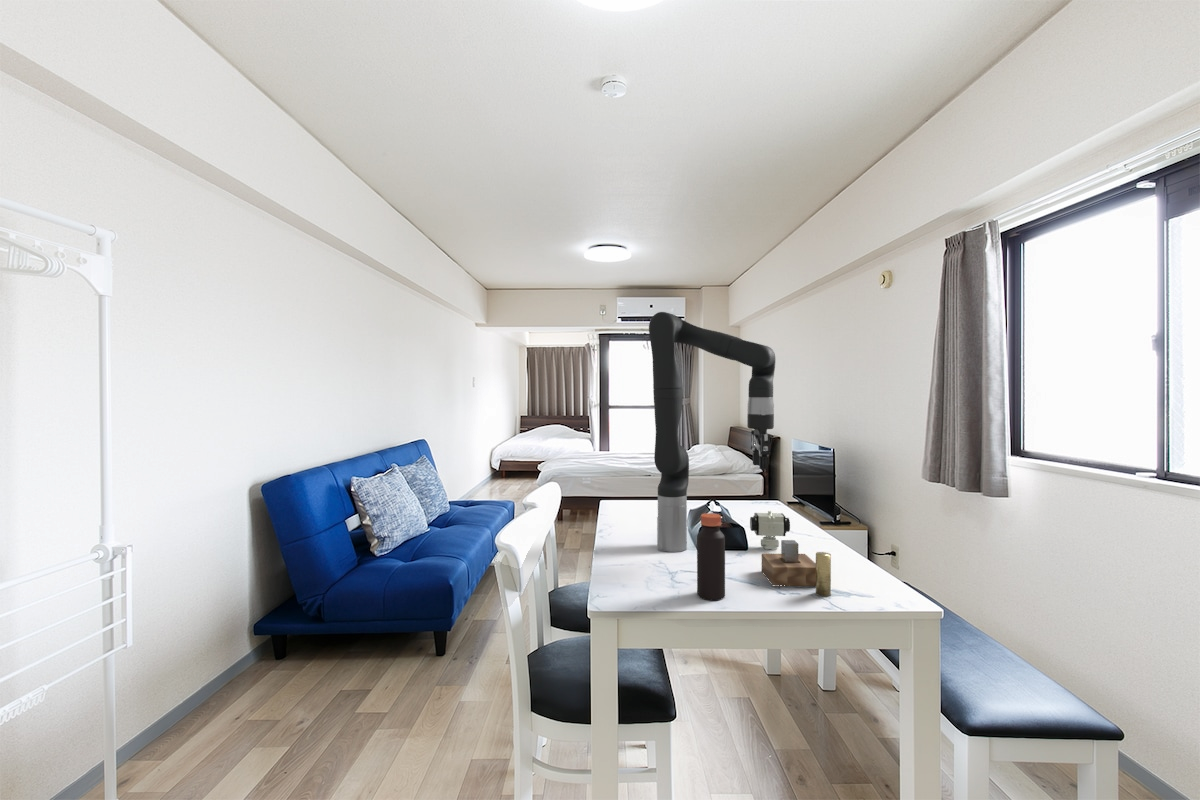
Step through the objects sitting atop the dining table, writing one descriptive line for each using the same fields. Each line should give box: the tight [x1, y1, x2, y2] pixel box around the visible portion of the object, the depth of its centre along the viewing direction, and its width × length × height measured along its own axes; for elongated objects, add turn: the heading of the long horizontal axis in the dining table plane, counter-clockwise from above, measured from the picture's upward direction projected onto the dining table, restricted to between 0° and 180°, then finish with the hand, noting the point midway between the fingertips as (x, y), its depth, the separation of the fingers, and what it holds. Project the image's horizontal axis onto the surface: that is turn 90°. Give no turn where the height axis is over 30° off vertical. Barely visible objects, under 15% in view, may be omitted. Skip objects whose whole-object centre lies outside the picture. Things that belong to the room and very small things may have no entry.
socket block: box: [761, 553, 816, 587], centre depth 150 cm, size 12×12×5 cm
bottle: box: [696, 512, 726, 601], centre depth 138 cm, size 7×7×20 cm
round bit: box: [815, 551, 832, 598], centre depth 139 cm, size 4×4×10 cm
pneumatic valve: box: [749, 510, 791, 550], centre depth 178 cm, size 6×12×12 cm, turn 83°
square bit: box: [780, 539, 799, 563], centre depth 150 cm, size 4×4×10 cm
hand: (760, 467), depth 166 cm, fingers open, 8 cm apart
